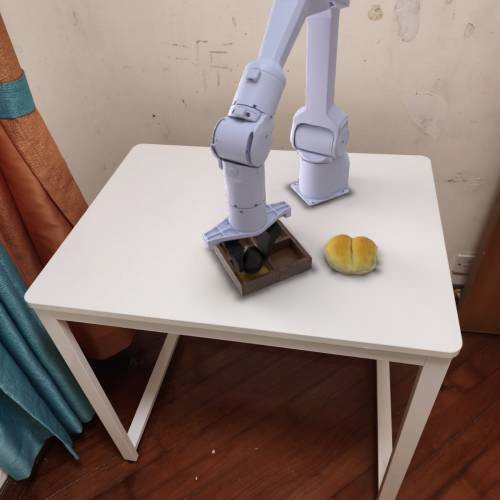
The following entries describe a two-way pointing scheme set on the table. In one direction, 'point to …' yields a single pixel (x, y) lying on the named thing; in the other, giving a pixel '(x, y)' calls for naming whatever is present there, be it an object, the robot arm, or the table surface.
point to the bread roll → (351, 254)
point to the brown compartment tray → (268, 262)
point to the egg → (252, 259)
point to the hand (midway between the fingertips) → (251, 262)
